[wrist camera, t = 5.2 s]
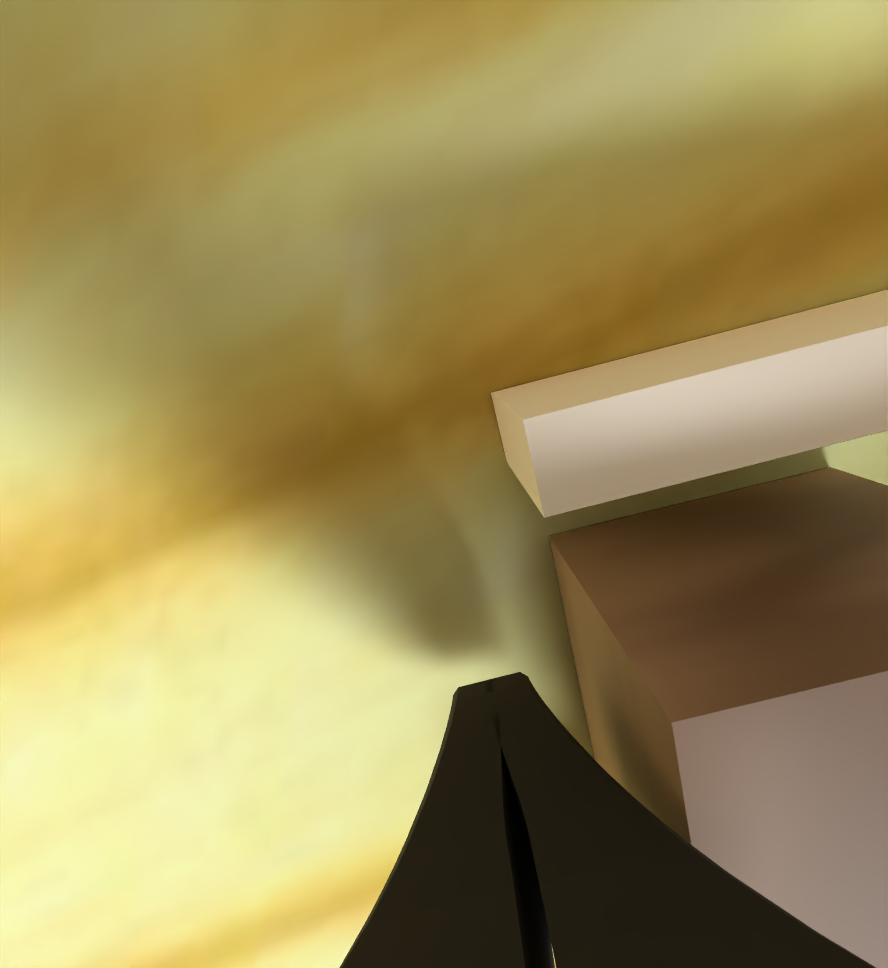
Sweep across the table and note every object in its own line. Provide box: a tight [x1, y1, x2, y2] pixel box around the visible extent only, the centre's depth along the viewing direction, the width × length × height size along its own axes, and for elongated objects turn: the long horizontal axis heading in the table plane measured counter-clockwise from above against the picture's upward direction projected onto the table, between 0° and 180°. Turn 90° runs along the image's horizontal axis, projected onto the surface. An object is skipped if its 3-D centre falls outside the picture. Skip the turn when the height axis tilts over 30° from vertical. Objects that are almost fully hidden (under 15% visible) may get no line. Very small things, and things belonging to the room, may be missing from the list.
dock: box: [491, 290, 888, 518], centre depth 9 cm, size 10×10×3 cm
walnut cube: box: [549, 467, 888, 968], centre depth 8 cm, size 5×5×5 cm
